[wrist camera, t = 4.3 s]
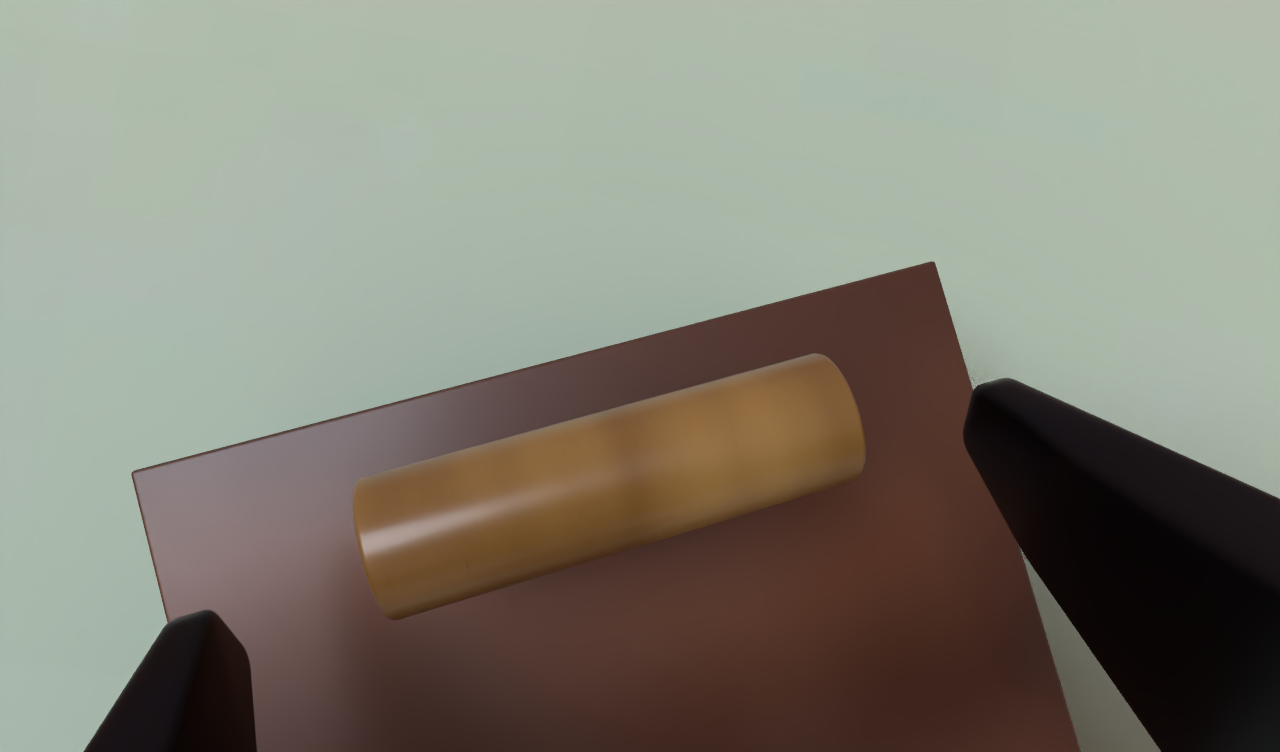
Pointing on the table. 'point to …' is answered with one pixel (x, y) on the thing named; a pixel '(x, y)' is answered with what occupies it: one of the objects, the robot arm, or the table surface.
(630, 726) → the box lid
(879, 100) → the table surface
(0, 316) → the table surface
